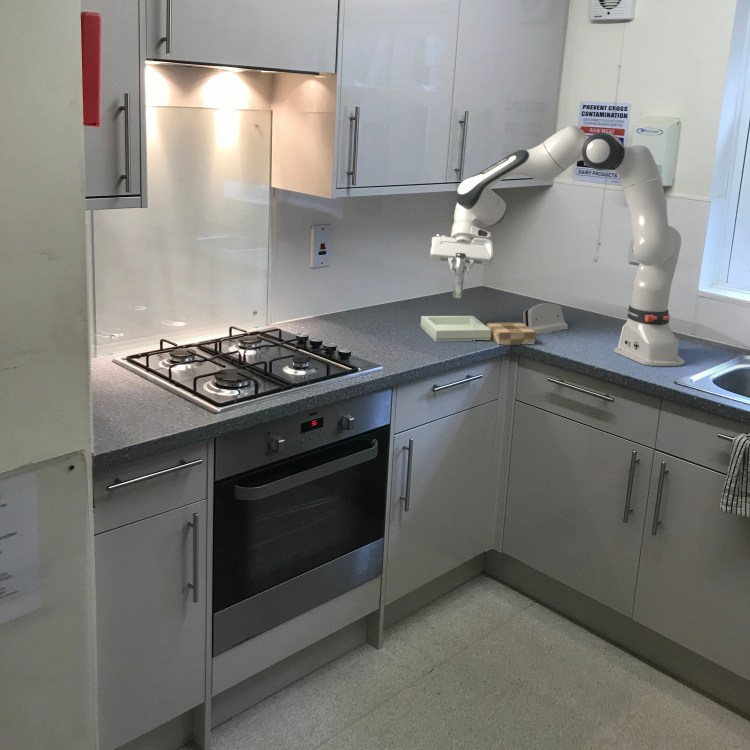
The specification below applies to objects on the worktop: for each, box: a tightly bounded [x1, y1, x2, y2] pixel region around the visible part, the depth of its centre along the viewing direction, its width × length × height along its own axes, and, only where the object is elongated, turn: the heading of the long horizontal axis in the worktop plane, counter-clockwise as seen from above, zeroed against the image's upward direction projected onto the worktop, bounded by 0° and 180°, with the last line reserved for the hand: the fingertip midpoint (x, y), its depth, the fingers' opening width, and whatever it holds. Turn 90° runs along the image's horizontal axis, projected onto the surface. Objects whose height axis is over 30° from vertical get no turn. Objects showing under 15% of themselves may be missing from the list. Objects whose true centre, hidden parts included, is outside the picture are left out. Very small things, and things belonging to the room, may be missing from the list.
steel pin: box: [452, 253, 466, 299], centre depth 285 cm, size 3×3×14 cm
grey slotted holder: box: [522, 302, 569, 334], centre depth 300 cm, size 17×5×10 cm, turn 127°
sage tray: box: [420, 315, 491, 342], centre depth 290 cm, size 18×18×4 cm
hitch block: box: [486, 321, 537, 346], centre depth 286 cm, size 12×12×4 cm
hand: (459, 272), depth 284 cm, fingers closed on steel pin, 3 cm apart
